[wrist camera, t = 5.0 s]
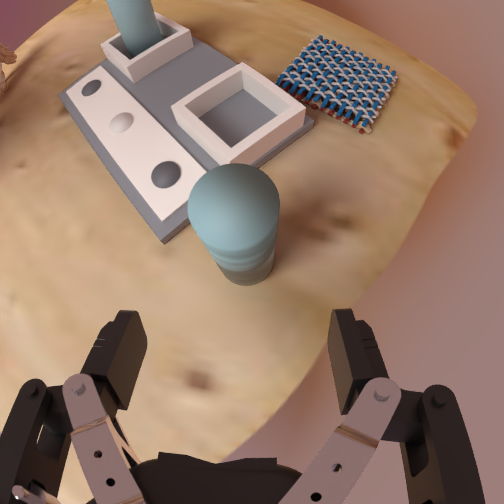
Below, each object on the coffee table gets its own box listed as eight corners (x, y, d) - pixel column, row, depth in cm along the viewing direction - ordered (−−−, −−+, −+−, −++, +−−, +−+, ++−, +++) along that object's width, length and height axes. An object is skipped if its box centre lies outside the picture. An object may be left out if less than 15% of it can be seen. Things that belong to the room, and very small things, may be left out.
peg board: (164, 244, 24) (96, 178, 13) (61, 100, 29) (17, 40, 18) (312, 127, 26) (331, 29, 15) (169, 27, 31) (149, -41, 20)
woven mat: (398, 82, 28) (403, 70, 26) (365, 142, 26) (372, 129, 24) (314, 43, 30) (316, 30, 28) (267, 93, 28) (267, 79, 26)
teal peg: (243, 296, 22) (227, 267, 13) (208, 256, 23) (169, 201, 14) (285, 260, 23) (299, 206, 13) (249, 221, 24) (238, 148, 14)
